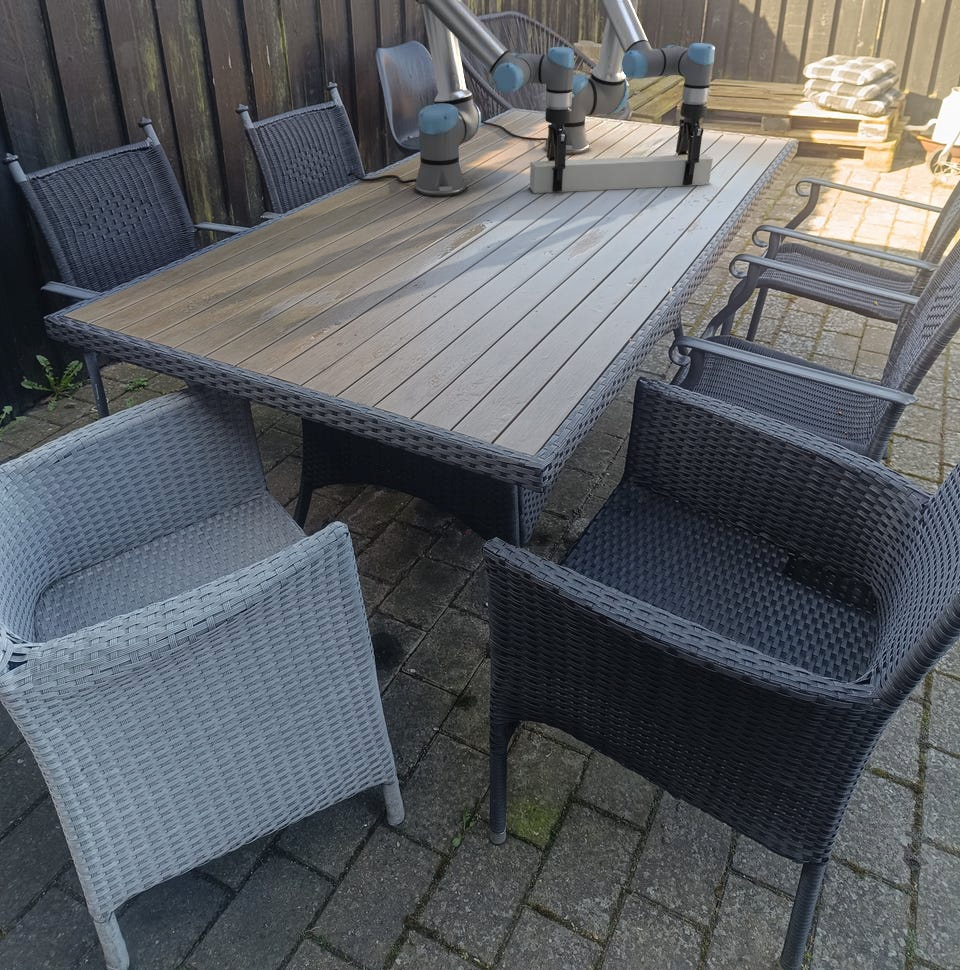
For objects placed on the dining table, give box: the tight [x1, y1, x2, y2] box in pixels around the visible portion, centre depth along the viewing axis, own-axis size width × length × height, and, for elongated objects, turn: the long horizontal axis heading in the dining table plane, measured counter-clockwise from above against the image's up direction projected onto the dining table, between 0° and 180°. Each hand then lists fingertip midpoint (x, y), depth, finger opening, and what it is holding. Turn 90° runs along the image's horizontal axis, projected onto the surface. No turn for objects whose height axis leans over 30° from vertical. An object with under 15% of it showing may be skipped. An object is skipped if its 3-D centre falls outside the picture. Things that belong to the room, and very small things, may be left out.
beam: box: [529, 153, 714, 194], centre depth 259 cm, size 56×6×8 cm, turn 99°
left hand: (554, 187), depth 259 cm, fingers closed on beam, 6 cm apart
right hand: (683, 181), depth 264 cm, fingers closed on beam, 6 cm apart
